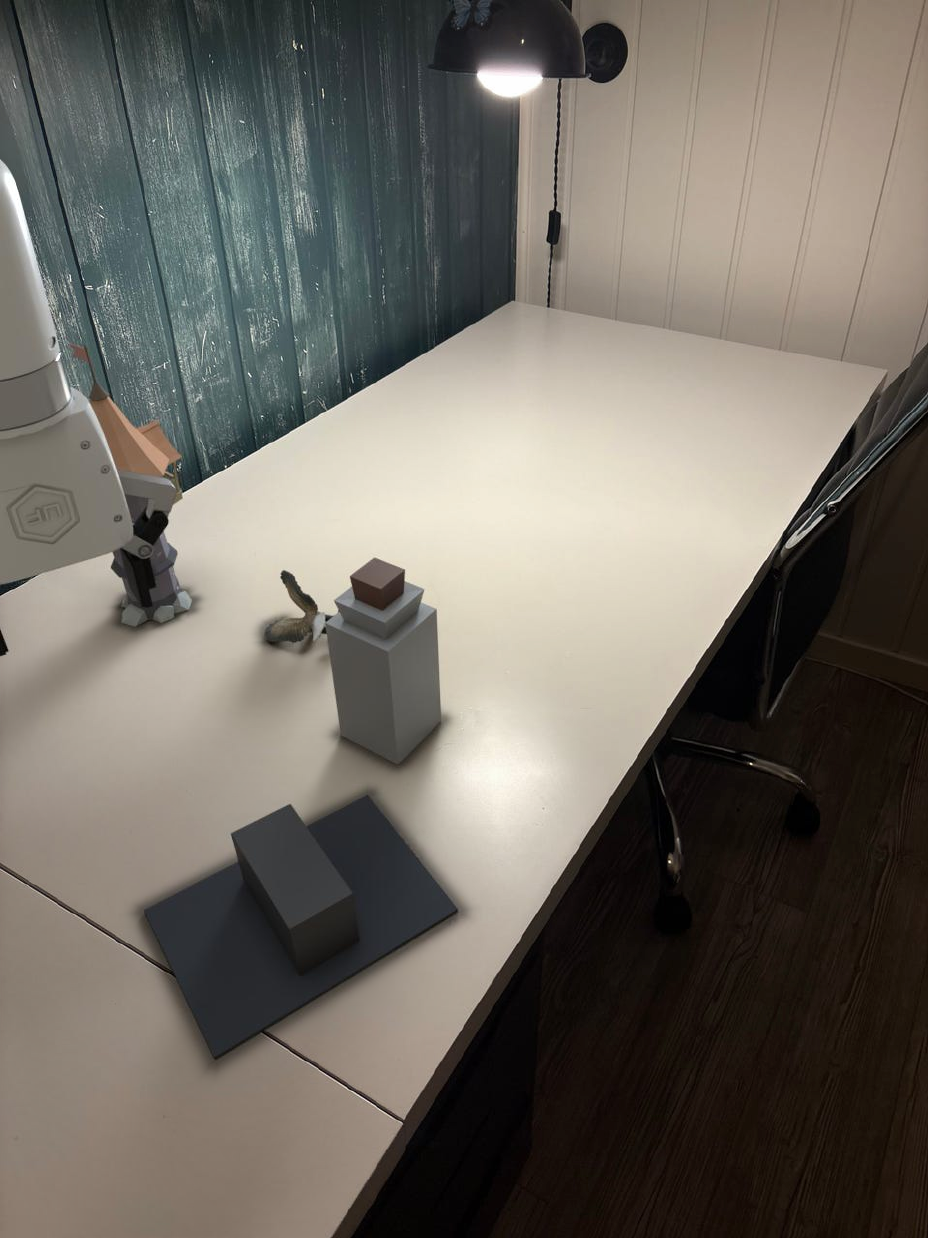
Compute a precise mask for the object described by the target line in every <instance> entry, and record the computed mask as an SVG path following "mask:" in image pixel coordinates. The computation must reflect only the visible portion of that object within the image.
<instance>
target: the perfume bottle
mask: <svg viewBox="0 0 928 1238" xmlns="http://www.w3.org/2000/svg"><path fill="white" fill-rule="evenodd" d="M405 579H406V569H404V568H402V567H400V566H397V565H395V564H392V563H390V562H387V561H385V560H382V559H380V558H377V557H372V559H370V560H369V561H368V562H366V563H365V564H363V566H361V567H360V568H358V569H357V570H356V571H354V572H353V573H352V574H351V575H349V580H350V584H351V587H349V588H348V589H346V590H345V591H344V592H343V593H341V594H339V596H337V597H336V598H334V600H333V602H334V604H335V607H336V608H337V613H336V614H335V616H333V615H332V616H333V617H332V618H331V619H330V620H328V621H327V622H325V627H326V633H327V634H326V640H327V646H328V653H329V660H330V667H331V674H332V682H333V690H334V696H335V704H336V712H337V718H338V719H337V720H338V727H339V732H340V736H342V737H343V738H345V739H347V740H349V741H351V742H353V743H355V744H357V745H359V746H361V747H362V748H364V749H366V750H368V751H370V752H372V753H374V754H375V755H378V756H380V757H381V758H384V759H385V760H388V761H389V762H391V763H393V764H395V765H397V766H399V765H400V764H401V763H402V762H403V761H404V760H405V758H407V756H408V755H409V754H410V753H411V752H413V750H415V748H416V747H417V746H418V745H419V744H420V743H421V742H422V741H423V740H424V739H425V738H426V737H428V735H429V734H430V733H431V732H433V730H434V729H435V728H436V727H437V726H438V725H439V724H440V723H441V722H442V705H441V703H442V702H441V681H440V659H439V658H440V657H439V655H440V654H439V634H438V631H439V630H438V611H437V608H435V607H433V606H430V605H428V604H426V603H424V602H422V600H423V596H424V593H425V588H423V587H420V586H418V585H415V584H413V583H410V582H409V581H405ZM338 610H339V612H338Z"/></svg>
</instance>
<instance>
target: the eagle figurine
mask: <svg viewBox="0 0 928 1238" xmlns="http://www.w3.org/2000/svg"><path fill="white" fill-rule="evenodd" d="M279 575H280V577H279V578H280V580H281V581H282V584H283V585H284V586H285V588H286V590H287V594H288V596H289V598H290V600H291V601H292V602H293V603H294V604H295V605H296V606H297V607H298V608H299V609H300V610H301V611H302V612H303V613H304V616H303V617H287V618H286V617H280V618H279V619H276V620H275V621H274V622H270V623H269V624H268V625H267V626H266V627H265V631H264V633H265V635H264V637H265V640H266V641H267V642H270V643H271V642H272V643H276V642H278V643H279V642H288V643H291V644H294V643H298V642H299V643H300V642H302V641H304V640H305V637H307V636H308V634H310V633H312V636H313V638H312V641H313V642H315V641H317V640H318V639H319V638H320V637H321V634H322V635H327V633H326V626H325V623H326V622H327V621H328V620H330V619H331V618H332V617H333V616H335V615H336V614H335V615H331V614H325V611H323V612H321V611H318V610H319V607H318V604H317V603H316V601H315V600H314V598H313V597H311V595H310V594H307V593H306V592H304V591H303V590H302V588H301V586H300V585H299V584H298V581H297V580H296V576H295V575H294V574H293V573H291V572H289V571H287V570H286V569H283V570H281V572H280V574H279ZM338 612H339V610H338V609H337V613H338Z"/></svg>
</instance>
